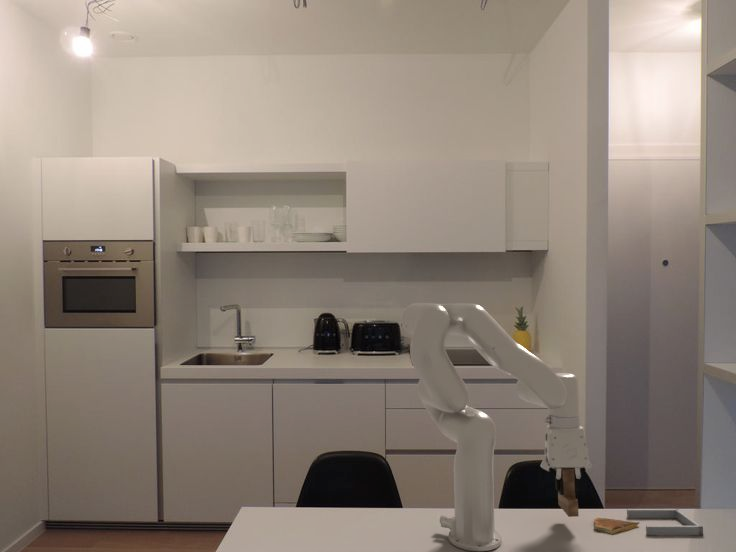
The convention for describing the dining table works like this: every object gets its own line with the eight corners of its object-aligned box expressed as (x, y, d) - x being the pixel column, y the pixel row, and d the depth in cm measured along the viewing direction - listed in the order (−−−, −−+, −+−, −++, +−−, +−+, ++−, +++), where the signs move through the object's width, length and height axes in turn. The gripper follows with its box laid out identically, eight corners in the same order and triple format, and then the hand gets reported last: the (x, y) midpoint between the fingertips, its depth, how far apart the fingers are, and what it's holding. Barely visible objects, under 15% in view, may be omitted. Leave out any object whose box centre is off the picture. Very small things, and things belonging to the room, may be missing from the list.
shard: (639, 528, 142) (639, 521, 142) (642, 540, 135) (642, 532, 135) (594, 522, 146) (593, 515, 146) (594, 533, 139) (594, 526, 139)
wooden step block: (567, 516, 139) (565, 472, 140) (557, 504, 147) (555, 462, 148) (579, 516, 139) (577, 472, 139) (568, 504, 147) (567, 462, 147)
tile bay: (647, 535, 137) (647, 526, 137) (627, 516, 148) (626, 509, 148) (703, 535, 136) (702, 526, 136) (678, 516, 148) (677, 509, 148)
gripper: (536, 425, 140) (539, 499, 140) (601, 423, 140) (605, 497, 139) (528, 419, 148) (531, 488, 147) (590, 417, 147) (593, 487, 147)
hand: (567, 492), depth 143 cm, fingers closed on wooden step block, 3 cm apart
